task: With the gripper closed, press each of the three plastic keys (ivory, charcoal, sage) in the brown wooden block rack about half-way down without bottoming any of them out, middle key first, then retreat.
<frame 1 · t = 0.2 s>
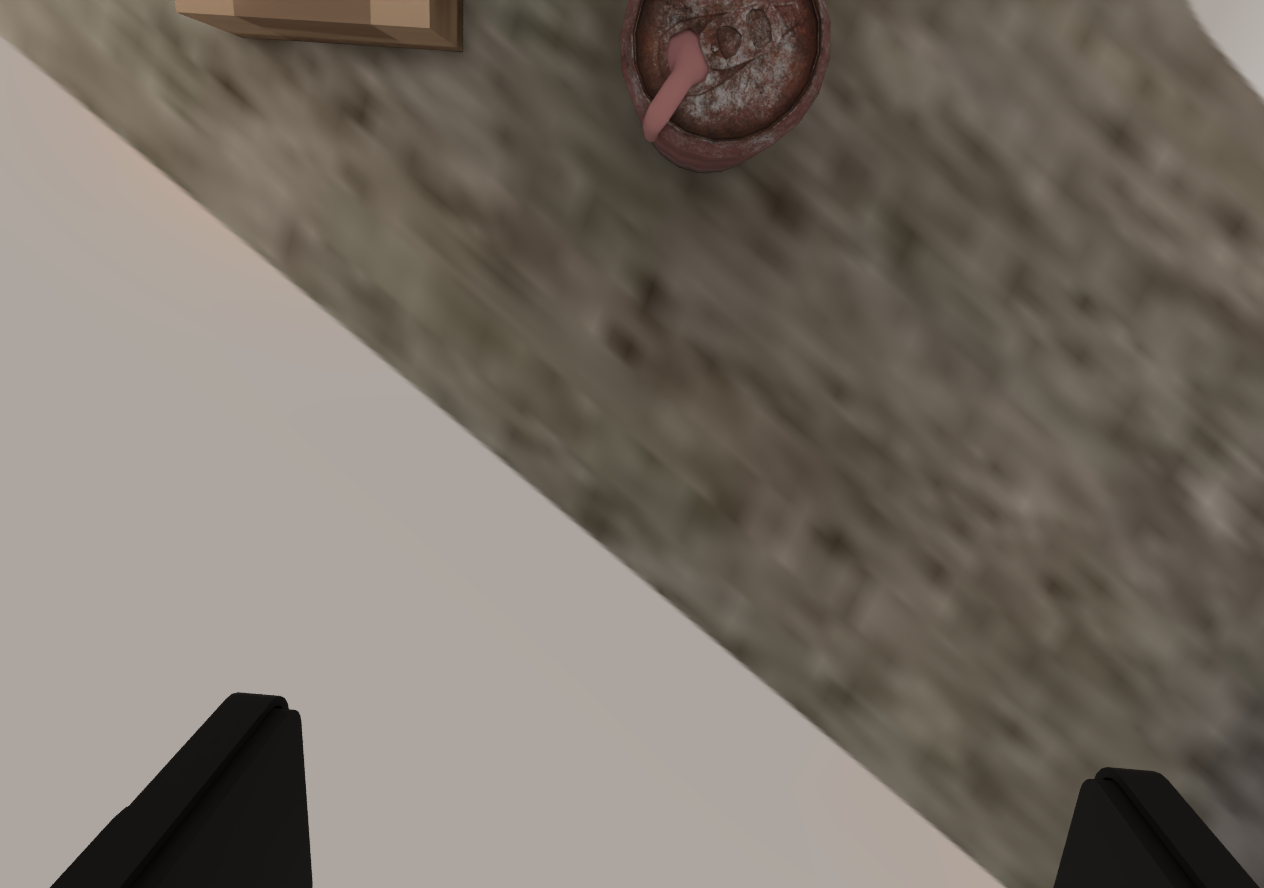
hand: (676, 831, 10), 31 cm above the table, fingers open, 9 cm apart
can: (705, 104, 36), on the table
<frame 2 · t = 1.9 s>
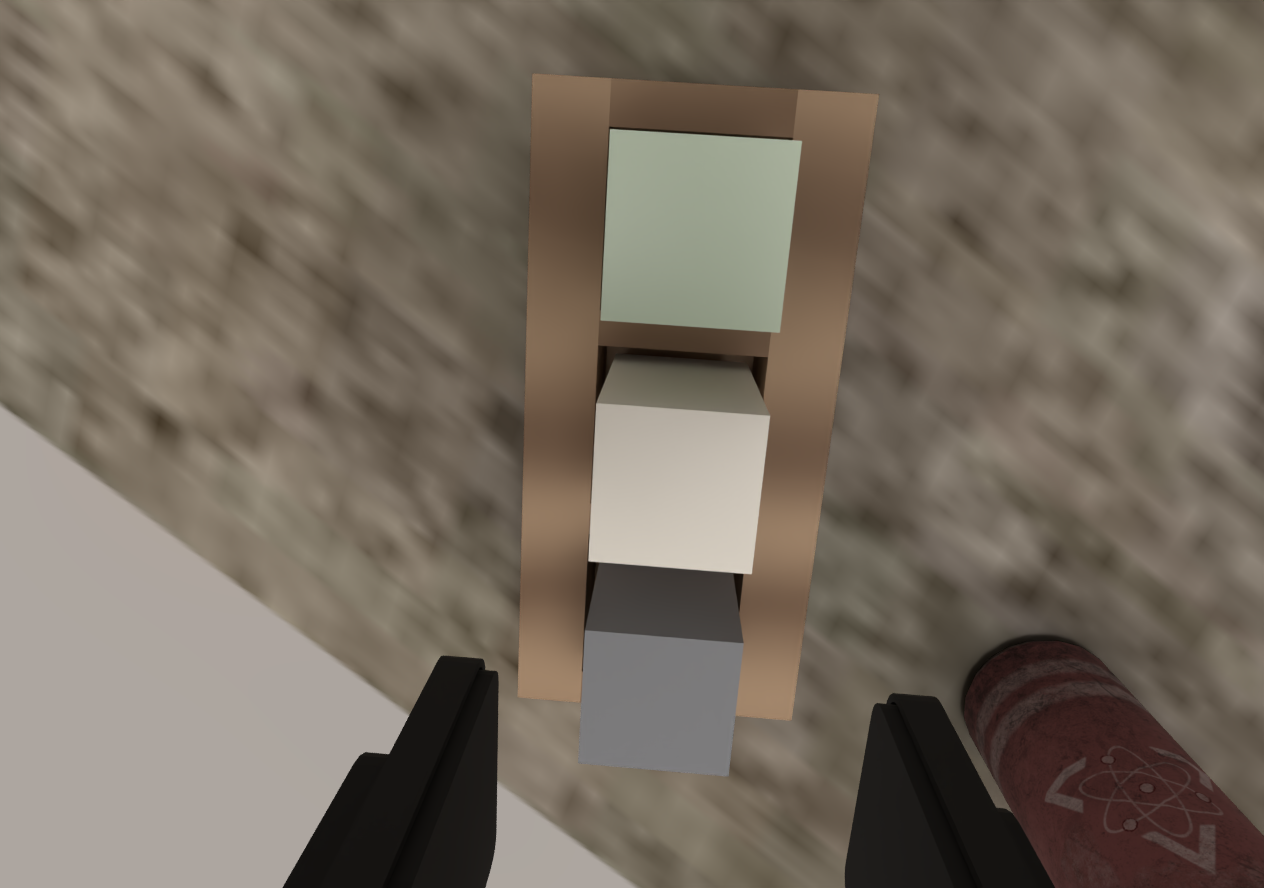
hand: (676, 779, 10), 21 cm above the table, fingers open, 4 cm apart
key ivory: (676, 451, 24), point 7 cm above the table, slide at 0.0 cm
key sage: (694, 229, 22), point 7 cm above the table, slide at 0.0 cm
brown wooden block rack: (676, 397, 31), on the table
key charcoal: (660, 640, 26), point 7 cm above the table, slide at 0.0 cm
can: (1029, 697, 34), on the table
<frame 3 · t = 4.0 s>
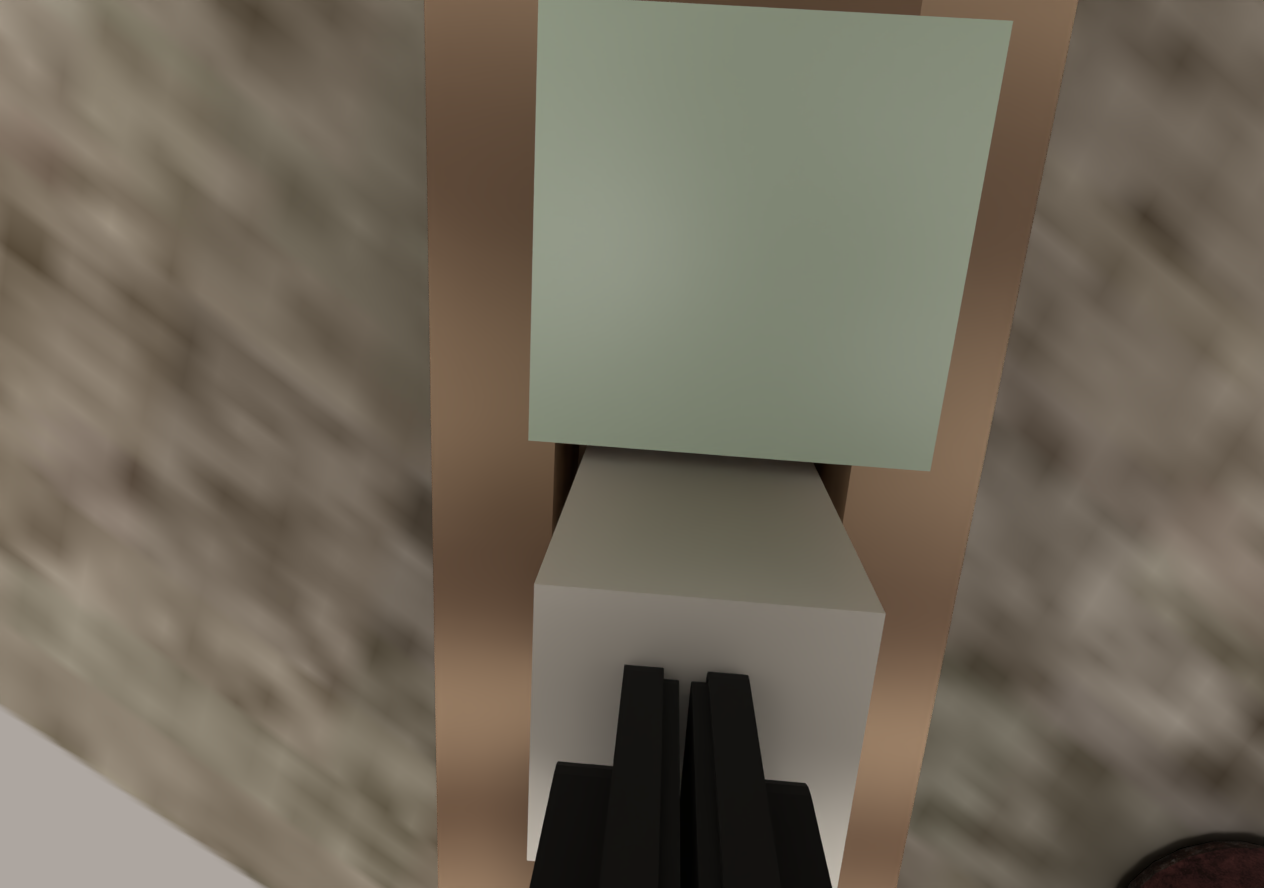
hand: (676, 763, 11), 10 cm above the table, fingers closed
key ivory: (691, 614, 14), point 6 cm above the table, slide at 0.7 cm, touching gripper
key sage: (729, 233, 11), point 7 cm above the table, slide at 0.0 cm
brown wooden block rack: (689, 487, 20), on the table
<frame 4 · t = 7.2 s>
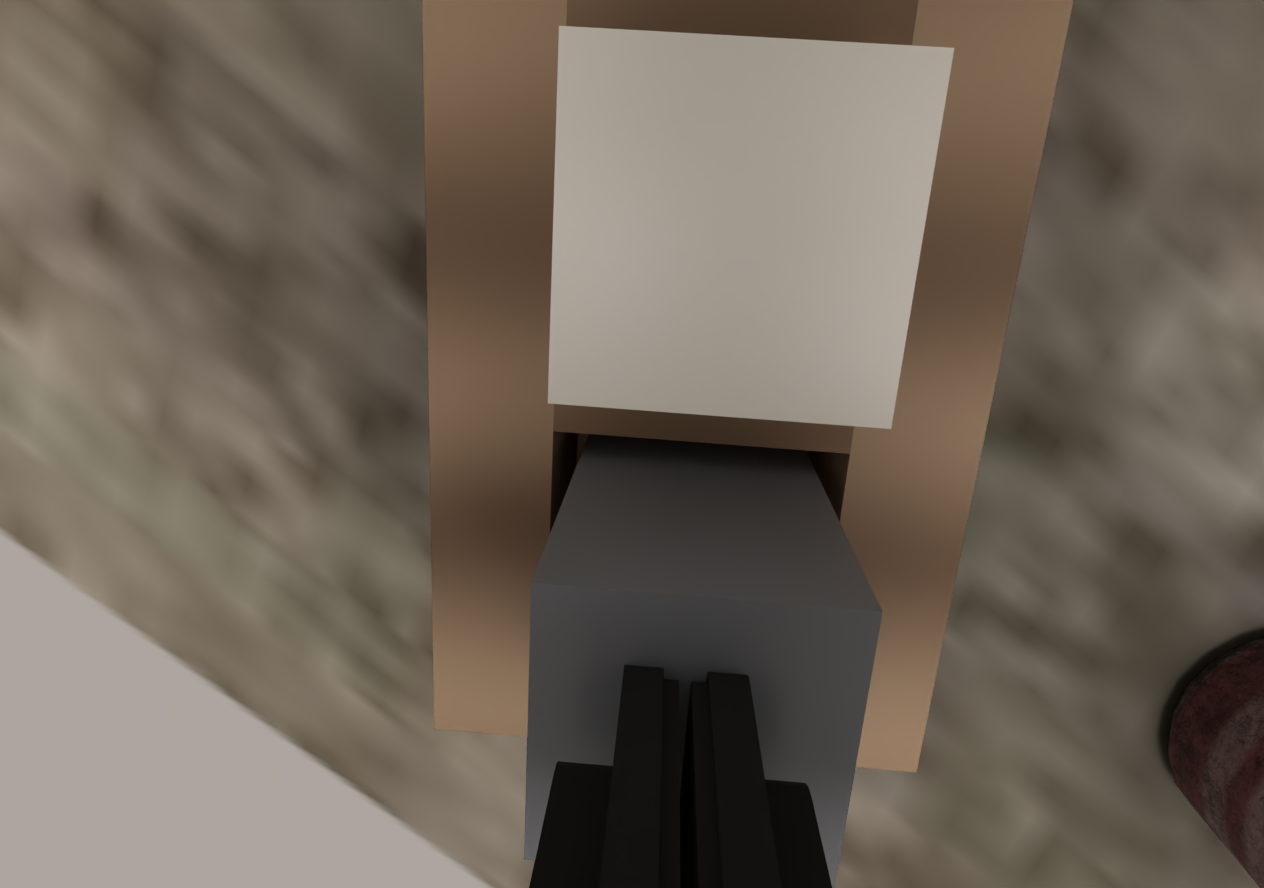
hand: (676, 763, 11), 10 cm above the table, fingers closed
key ivory: (721, 227, 13), point 5 cm above the table, slide at 1.5 cm
brown wooden block rack: (710, 217, 18), on the table
key charcoal: (688, 613, 14), point 6 cm above the table, slide at 0.6 cm, touching gripper
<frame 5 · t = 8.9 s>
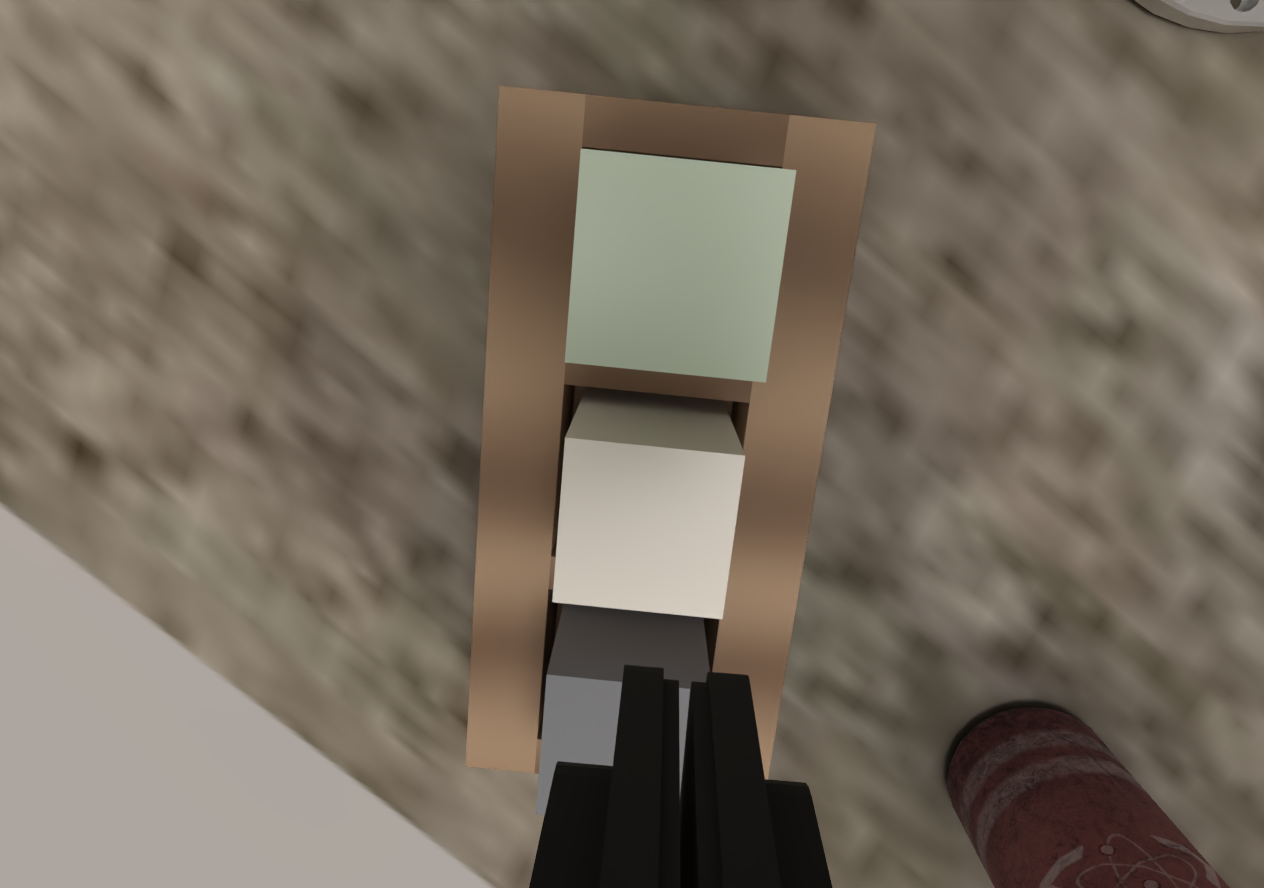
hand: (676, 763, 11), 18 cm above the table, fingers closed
key ivory: (647, 487, 23), point 5 cm above the table, slide at 1.5 cm
key sage: (672, 262, 20), point 7 cm above the table, slide at 0.0 cm
brown wooden block rack: (648, 439, 29), on the table
key charcoal: (626, 683, 25), point 5 cm above the table, slide at 1.5 cm
can: (1015, 766, 32), on the table
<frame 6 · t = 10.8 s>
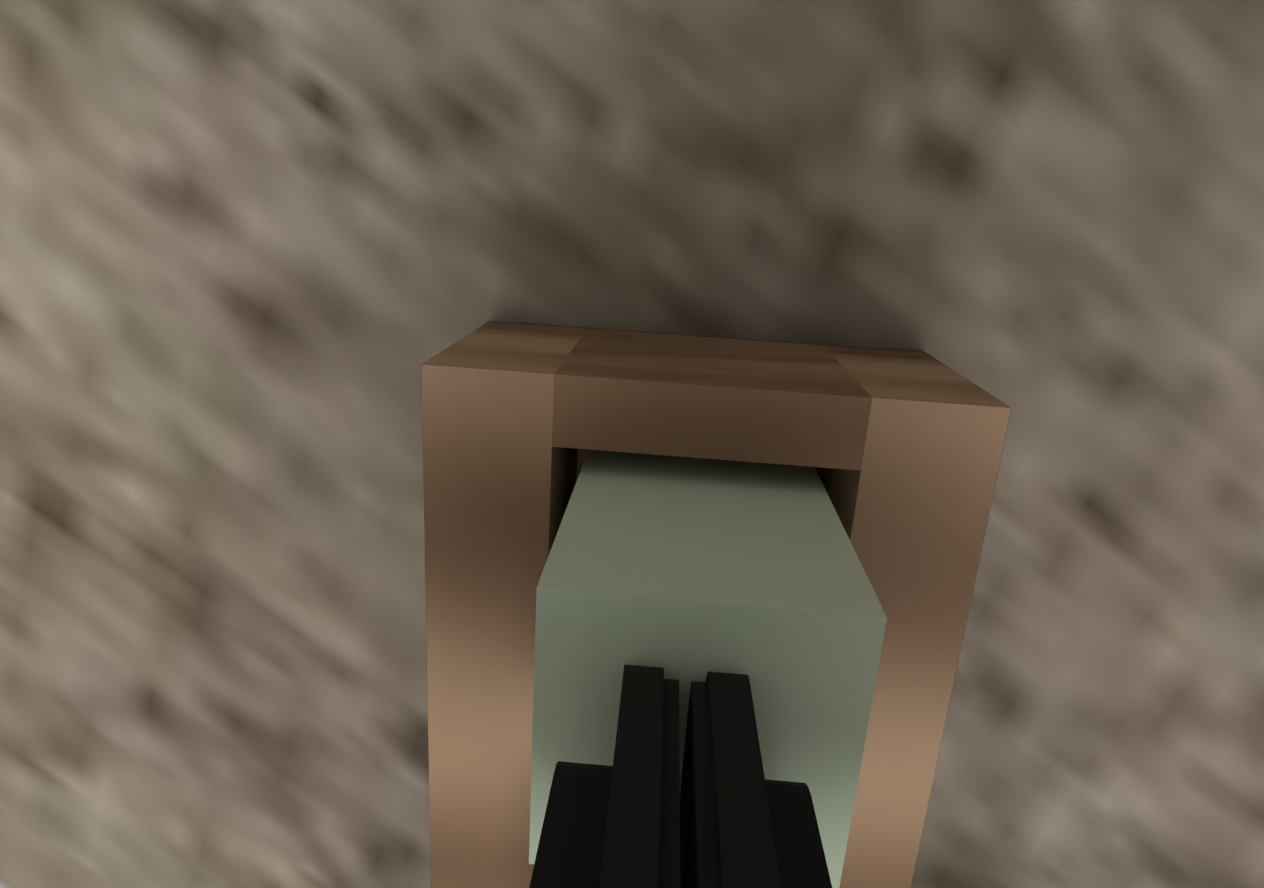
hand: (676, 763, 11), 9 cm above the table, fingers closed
key sage: (692, 617, 14), point 6 cm above the table, slide at 1.2 cm, touching gripper
brown wooden block rack: (670, 724, 21), on the table
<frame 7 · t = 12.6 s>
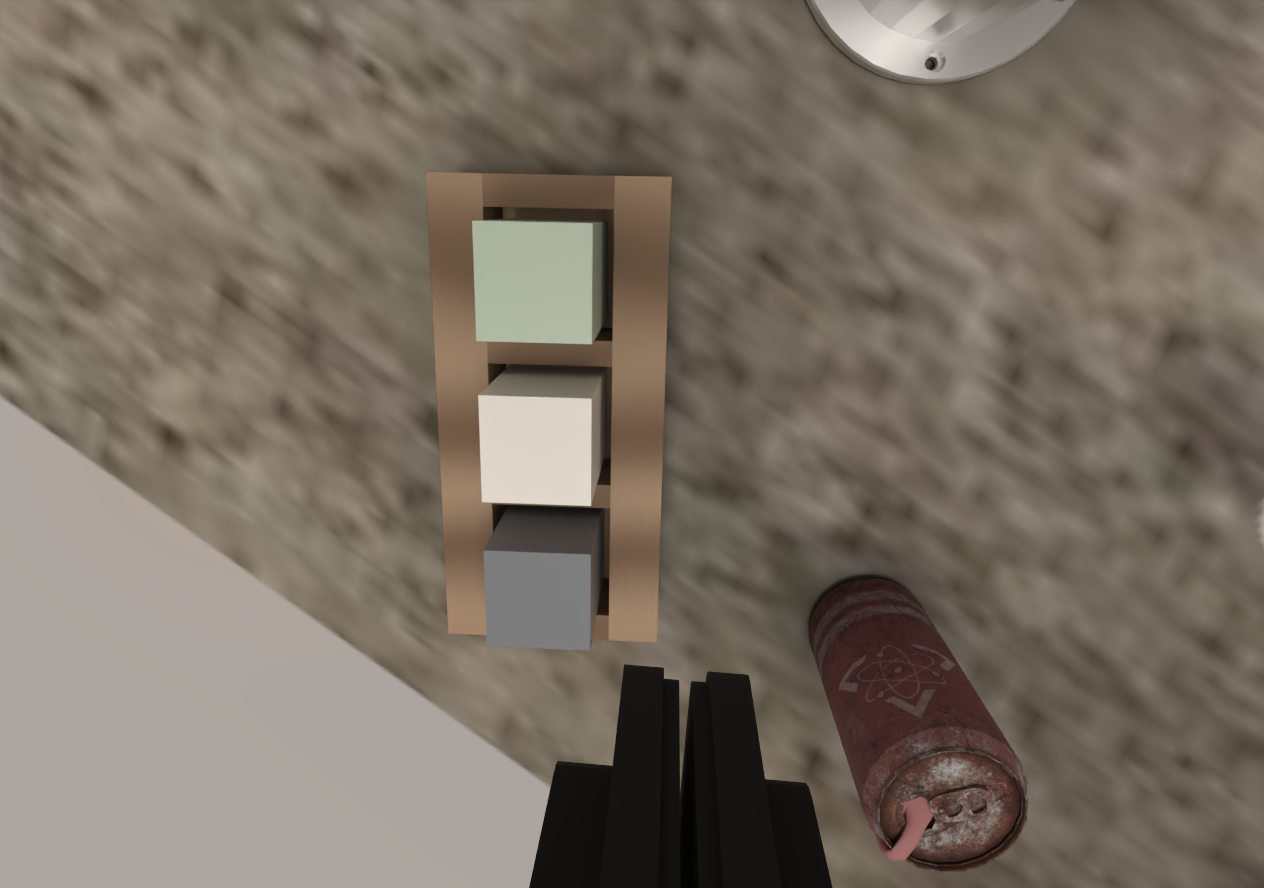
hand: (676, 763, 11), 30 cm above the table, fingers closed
key ivory: (548, 428, 35), point 5 cm above the table, slide at 1.5 cm
key sage: (547, 276, 33), point 5 cm above the table, slide at 1.5 cm
brown wooden block rack: (564, 399, 40), on the table
key charcoal: (549, 565, 37), point 5 cm above the table, slide at 1.5 cm
can: (862, 625, 43), on the table
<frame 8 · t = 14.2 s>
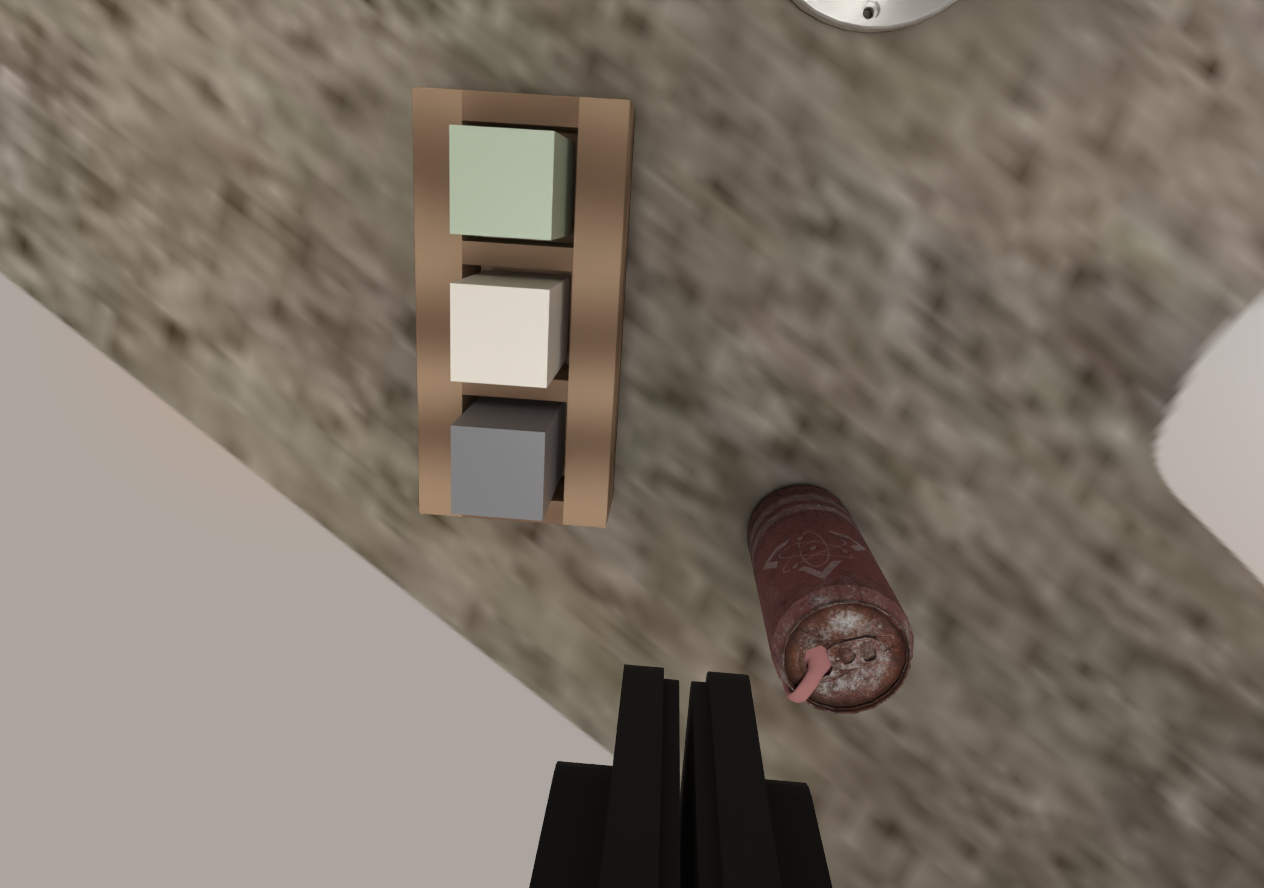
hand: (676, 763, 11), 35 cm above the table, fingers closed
key ivory: (514, 324, 39), point 5 cm above the table, slide at 1.5 cm
key sage: (516, 185, 37), point 5 cm above the table, slide at 1.5 cm
brown wooden block rack: (533, 310, 44), on the table
key charcoal: (511, 451, 41), point 5 cm above the table, slide at 1.5 cm
can: (796, 531, 47), on the table
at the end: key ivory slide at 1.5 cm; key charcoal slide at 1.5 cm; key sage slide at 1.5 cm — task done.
